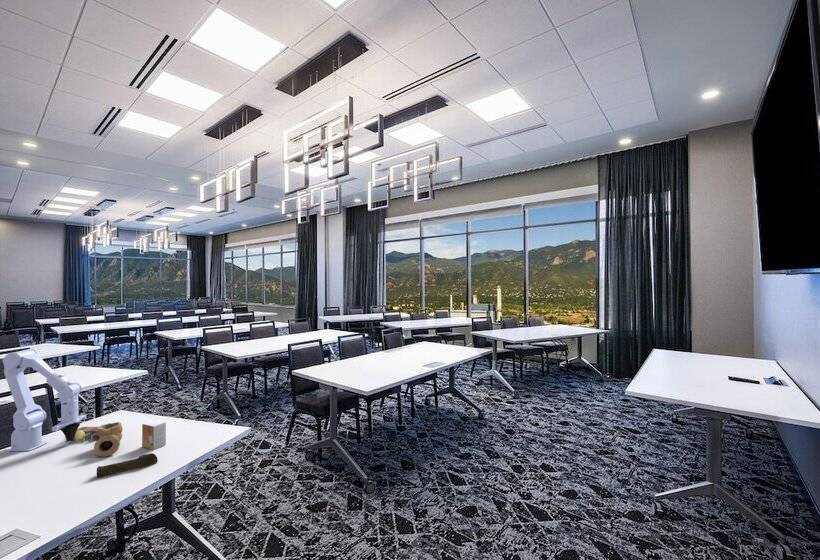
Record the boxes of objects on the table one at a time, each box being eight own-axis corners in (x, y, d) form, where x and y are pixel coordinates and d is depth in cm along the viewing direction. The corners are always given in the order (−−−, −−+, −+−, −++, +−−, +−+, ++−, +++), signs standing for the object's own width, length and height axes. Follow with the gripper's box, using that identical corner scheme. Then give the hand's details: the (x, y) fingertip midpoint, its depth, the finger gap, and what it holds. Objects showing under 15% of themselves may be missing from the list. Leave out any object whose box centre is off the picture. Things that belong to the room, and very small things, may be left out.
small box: (141, 447, 161) (141, 423, 161) (154, 441, 166) (154, 419, 166) (153, 450, 158) (153, 426, 158) (166, 444, 163) (166, 421, 163)
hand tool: (95, 480, 135) (95, 467, 135) (98, 475, 139) (98, 463, 139) (156, 466, 145) (156, 455, 145) (157, 462, 148) (157, 451, 148)
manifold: (64, 442, 167) (64, 434, 167) (82, 434, 176) (81, 426, 176) (103, 441, 167) (103, 434, 167) (118, 433, 176) (118, 426, 176)
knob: (87, 438, 170) (87, 428, 170) (77, 443, 165) (77, 432, 165) (77, 438, 170) (77, 428, 170) (67, 443, 165) (66, 433, 165)
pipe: (92, 460, 149) (92, 436, 149) (98, 446, 163) (98, 424, 163) (120, 454, 155) (120, 431, 155) (123, 440, 168) (123, 419, 168)
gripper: (63, 416, 157) (63, 447, 157) (92, 405, 171) (92, 433, 171) (47, 417, 157) (47, 448, 157) (77, 405, 171) (78, 433, 171)
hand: (70, 440), depth 164 cm, fingers closed
